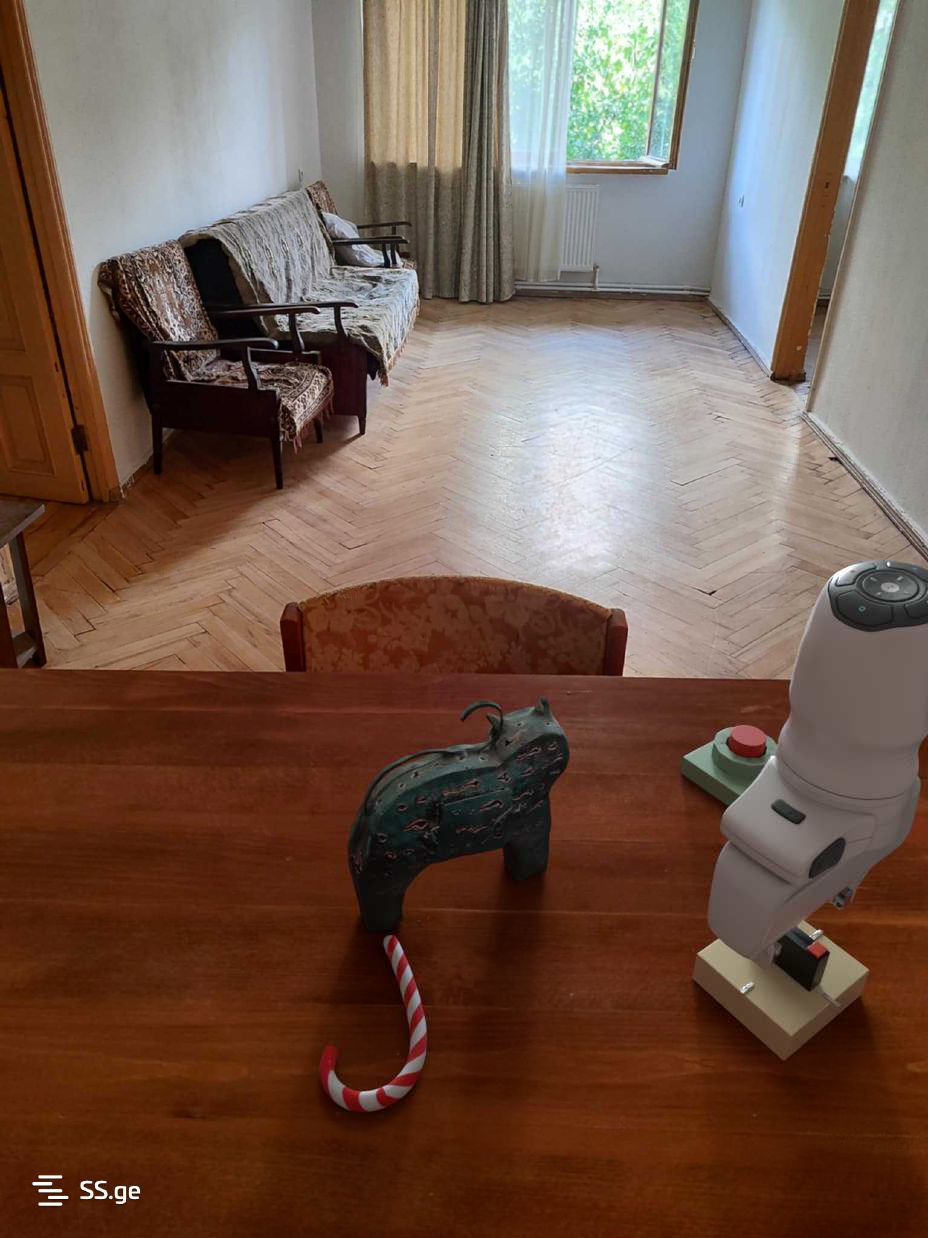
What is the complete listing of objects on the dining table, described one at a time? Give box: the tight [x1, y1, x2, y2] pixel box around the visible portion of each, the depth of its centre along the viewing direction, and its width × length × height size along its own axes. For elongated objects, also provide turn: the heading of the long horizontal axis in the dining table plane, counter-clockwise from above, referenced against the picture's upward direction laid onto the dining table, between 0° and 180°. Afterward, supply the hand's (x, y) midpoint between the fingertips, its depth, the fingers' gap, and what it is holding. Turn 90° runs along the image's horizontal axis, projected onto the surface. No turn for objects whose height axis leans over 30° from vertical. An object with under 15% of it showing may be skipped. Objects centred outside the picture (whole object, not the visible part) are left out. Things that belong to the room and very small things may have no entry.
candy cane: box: [319, 934, 428, 1113], centre depth 68 cm, size 8×1×15 cm
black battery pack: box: [774, 926, 830, 992], centre depth 69 cm, size 6×2×4 cm, turn 35°
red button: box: [728, 724, 767, 759], centre depth 93 cm, size 4×4×2 cm
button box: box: [680, 726, 777, 807], centre depth 94 cm, size 10×8×4 cm
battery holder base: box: [692, 920, 870, 1062], centre depth 71 cm, size 10×10×3 cm
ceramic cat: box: [347, 695, 571, 934], centre depth 75 cm, size 20×6×20 cm, turn 115°
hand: (800, 929), depth 68 cm, fingers open, 8 cm apart
